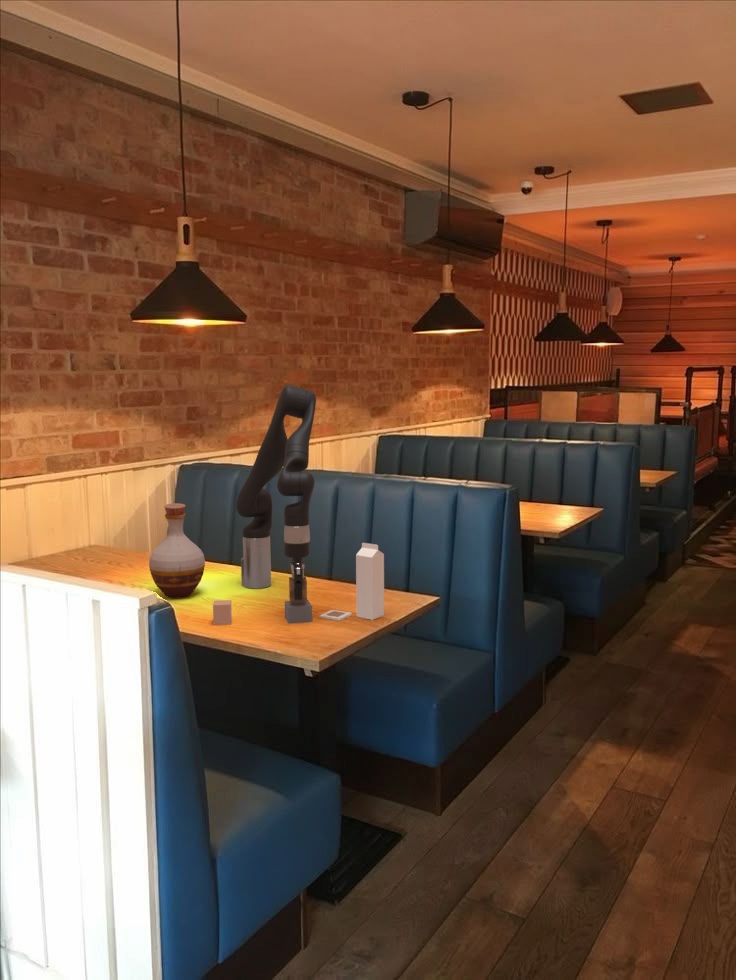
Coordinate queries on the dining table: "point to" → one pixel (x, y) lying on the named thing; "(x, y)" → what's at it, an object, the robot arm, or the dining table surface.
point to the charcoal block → (298, 611)
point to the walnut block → (291, 589)
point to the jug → (176, 558)
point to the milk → (369, 582)
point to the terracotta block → (222, 612)
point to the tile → (335, 615)
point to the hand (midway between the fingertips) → (298, 596)
